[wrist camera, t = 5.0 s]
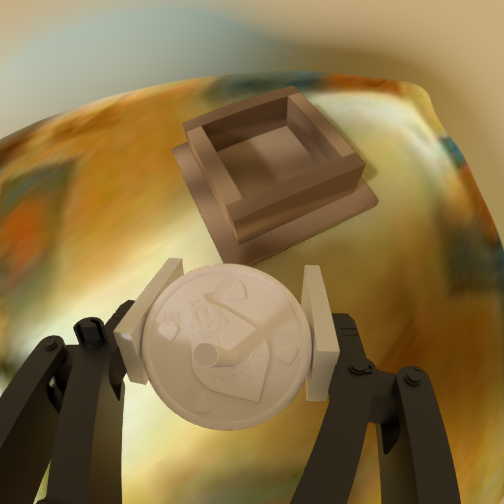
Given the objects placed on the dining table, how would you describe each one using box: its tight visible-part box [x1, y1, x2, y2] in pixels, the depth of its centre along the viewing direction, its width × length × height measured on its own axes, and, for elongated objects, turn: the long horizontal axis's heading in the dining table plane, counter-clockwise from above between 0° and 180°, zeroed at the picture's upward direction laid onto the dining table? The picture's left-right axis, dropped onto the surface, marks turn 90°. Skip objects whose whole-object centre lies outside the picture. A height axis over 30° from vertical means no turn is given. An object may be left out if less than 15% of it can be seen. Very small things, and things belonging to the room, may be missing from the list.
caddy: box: [172, 86, 378, 267], centre depth 22 cm, size 13×13×4 cm
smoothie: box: [142, 264, 312, 431], centre depth 13 cm, size 6×6×14 cm
